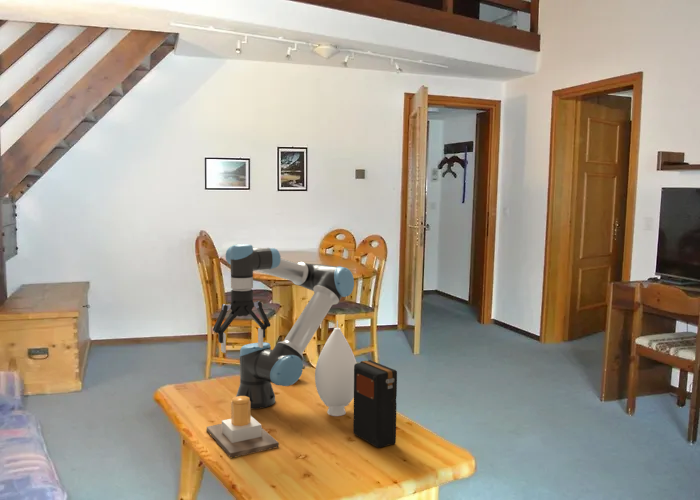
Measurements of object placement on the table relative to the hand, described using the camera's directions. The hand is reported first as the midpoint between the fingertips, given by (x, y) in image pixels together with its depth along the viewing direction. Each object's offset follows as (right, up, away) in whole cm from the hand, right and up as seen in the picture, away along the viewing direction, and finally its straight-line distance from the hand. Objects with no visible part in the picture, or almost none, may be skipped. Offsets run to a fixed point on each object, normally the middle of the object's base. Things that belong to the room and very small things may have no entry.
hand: (242, 349), depth 207 cm
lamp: (+32, -26, +14) cm, 44 cm away
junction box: (+2, -26, -10) cm, 28 cm away
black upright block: (+46, -28, -10) cm, 54 cm away
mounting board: (+2, -28, -10) cm, 30 cm away
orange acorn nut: (+1, -22, -11) cm, 25 cm away
